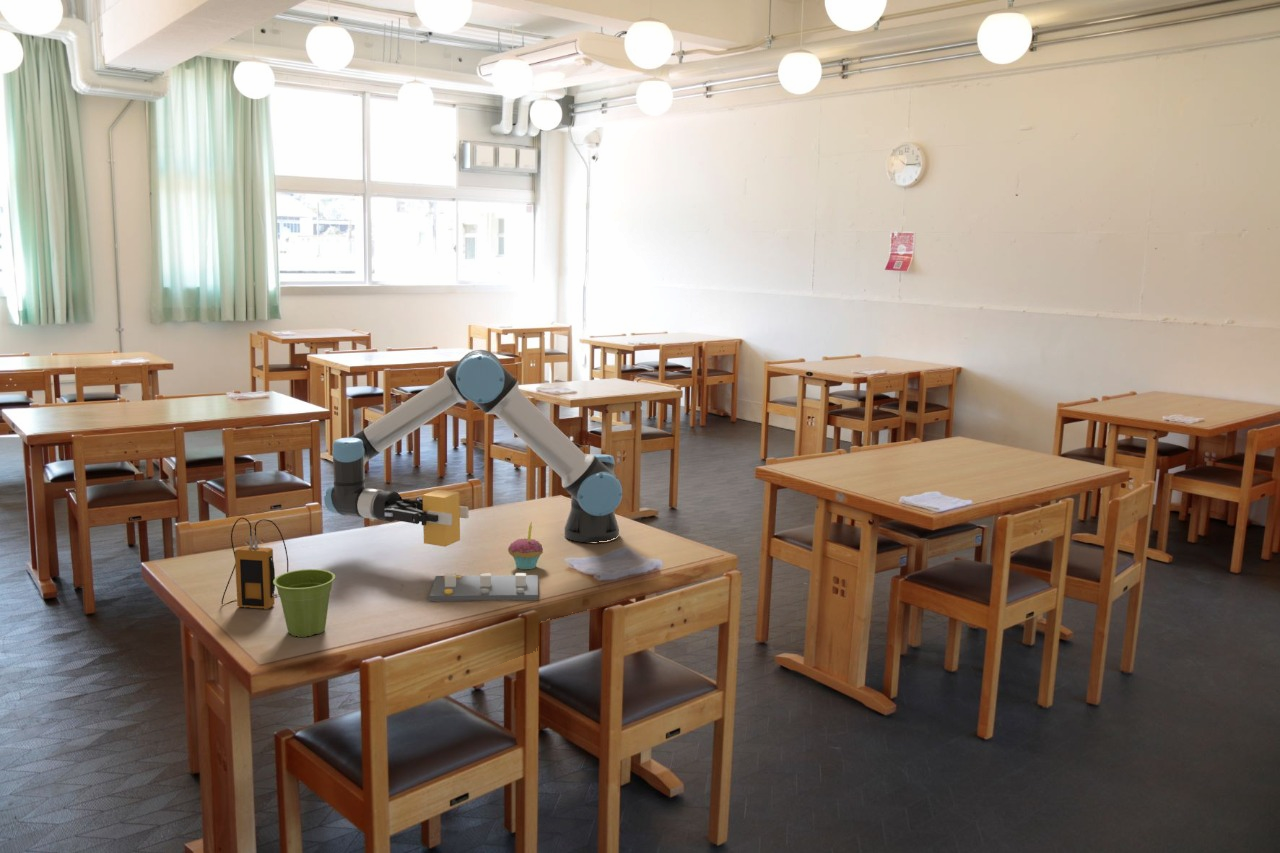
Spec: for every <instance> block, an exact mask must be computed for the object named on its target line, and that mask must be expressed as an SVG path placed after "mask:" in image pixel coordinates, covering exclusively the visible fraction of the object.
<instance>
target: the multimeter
mask: <svg viewBox="0 0 1280 853" xmlns="http://www.w3.org/2000/svg"><path fill="white" fill-rule="evenodd" d="M241 519H242V520H245V521H246V522H247V523H248V525H249V534H250V535H249V546H244V545H242V546H241V547H239V548H237V549H235V547H234V543H233V541H234V540H233V532H234V528H235V526H236V524H237V523H238V522H239V521H240V520H241ZM263 521H265V522H266V521H267V522H270V523H271V524H273V525H274V526H275V528H276V530H277V531H278V532H279V535H280V537H281V541H282V543H283V546H284V551H285V556H286V573H287V572H289V556H288V551H287V546H286V543H285V539H284V536H283V535H282V532H281V530H280V528H279V527H278V525H277V524H276V523H275V522H274V521H272V520H270V519H265V518H263V519H259V520H258V521H256V523H255V525H254V541H253V536H252V533H253V532H252V525H251V522H250V521H249V520H248V519H247V518H246V517H239V518H238V519H237V520H236V521H235V522H234V524H233V525H232V528H231V533H230V541H231V542H230V543H231V548H232V552H233V556H234V561H235V562H234V567H233V569H232V571H231V574H230V576H229V579H228V582H227V584H226V586H225V590H224V592H223V595H222V599H221V603H220V604H221V605H222V604H224V598H225V595H226V593H227V589H228V586H229V584H230V581H231V579H232V577H233V574H234V571H235V585H236V586H235V587H236V597H237V598H236V599H237V601H236V602H237V605H236V606H237V607H238V606H239V607H238V608H240V607H244V608H246V607H250V608H251V609H262V608H264V609H263V610H269V609H270V608H272V607H273V606H275V597H278V596H279V594H278V593H275V588H276V586H275V585H274V583H273V581H274V579H275V578H276V575H275V574H276V573H275V570H276V569H275V563H274V551H273V550H274V549H273V548H272V547H259V545H258V540H257V539H258V538H257V537H258V536H257V525H258V524H259V523H260V522H263ZM253 543H254V544H253ZM274 596H275V597H274ZM250 608H249V609H250Z"/></svg>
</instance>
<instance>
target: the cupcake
mask: <svg viewBox="0 0 1280 853" xmlns="http://www.w3.org/2000/svg"><path fill="white" fill-rule="evenodd" d="M532 528H533V525H532V521H531V522H530V524H529V526H528V532H527V538H525V537H524V538H518V539H516V540H514V541H512V542H511V543H510V545H509V546H508V549H507V550H508V551H507V552H508V554H509V555H510V556H512V558H513V560H514V562H515V565H516V566H515V567H516V568H517V569H518V568H520V569H519V570H522V569H530V570H533V569H532V568H534V569H535V568H537V563H538V560H539V558H540V556H541V555H542V554H543V553H544V552H543V551H544V549H543V545H542V544H541V542H539V541H537V540H536V539H534V538H532Z"/></svg>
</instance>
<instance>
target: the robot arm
mask: <svg viewBox="0 0 1280 853" xmlns="http://www.w3.org/2000/svg"><path fill="white" fill-rule="evenodd" d="M467 401H469V402H472V403H474V404H475V405H476V406H477V407H478V408H479V409H480V410H481V411H483V412H484V414H485V415H495V416H496V417H497V418H499V420H500V421H501V422H503V424H505V425H506V427H507V428H509V429H510V430H511V431H512V432H513V433H514V434H515V435H517V437H518V438H520V440H521V441H523V443H525V444H526V445H527V446H528V447H529V448H530V450H532V452H534V453H535V454H536V455H537V456H538V457H539V458H540V459H541V460H542V461H543V462H544V463H546V465H548V467H550V469H551V470H553V471H554V472H555V473H556V474H557V475H558V476H559V477H560V478H561V486H562V488H563V489H564V490H565V491H566V492H567V493H568V494H569V495H570V496H571V497H570V498H571V499H570V501H571V502H570V504H571V505H570V507H571V508H570V511H569V514H568V517H567V519H566V523H565V526H564V534H563V535H565V536H564V538H565V539H567V538H568V539H567V540H569V539H570V540H569V541H571V540H574V541H573V542H575V541H580V542H579V543H581V542H599V541H607V540H611V539H613V538H616V537H617V536H618V535H619V536H620V527H619V525H618V521H617V520H618V519H617V517H616V514H615V510H616V509H617V508H618V506H620V504H621V502H622V498H623V487H622V483H621V481H620V479H619V478H618V477H617V475H616V474H615V466H616V463H615V458H614V456H613V455H611V454H604V453H603V454H600V453H599V454H598V453H595V454H594V453H584V452H583V450H581V449H580V448H579V447H578V446H577V445H576V444H575V443H574V442H573V441H572V440H571V439H570V438H569V437H568V436H567V435H566V434H564V433H563V432H562V430H561V429H559V427H557V425H555V424H554V423H553V422H552V421H551V420H550V419H549V417H547V416H546V415H545V414H544V413H543V412H542V411H541V410H540V409H539V408H538V407H537V406H536V405H535V404H533V402H531V400H529V398H527V396H525V394H523V393H522V392H521V390H520V389H519V380H517V378H515V376H514V375H513V374H511V372H509V370H507V368H505V367H504V366H503V365H502V362H501V360H500V359H499V358H498V356H496V355H495V353H493V352H491V351H488V350H486V349H485V350H484V349H475V350H471V351H470V352H468V353H466V354H465V355H464V356H463V357H462V358H461V359H459V361H458V362H456V363H455V364H454V365H452V366H451V367H449V368H448V369H446V370H445V371H444V374H443V377H442V378H439V379H438V380H437V381H435V382H434V383H432V384H430V385H429V386H428V387H426V388H424V389H423V390H421V391H420V392H418V393H417V394H416V395H413V396H412V397H411V398H409V399H407V400H406V401H405V402H403V403H402V404H400V405H398V406H397V407H396V408H394V409H392V410H391V411H389V412H387V413H386V414H385V415H383V416H381V417H380V418H379V419H377V420H376V421H374V422H373V423H371V424H370V425H368V426H367V427H365V428H363V429H362V430H361V431H359V432H358V433H356V434H353V435H351V436H349V437H341V438H338V439H335V440H334V441H333V443H332V452H331V456H332V466H333V484H331V485H330V486H328V488H326V491H325V496H324V498H323V501H324V505H325V507H326V509H327V510H328V512H331V513H334V514H338V515H340V516H347V517H357V518H362V519H369V520H370V521H371V522H374V521H375V520H378V521H382V522H388V523H389V522H391V523H392V522H395V521H397V522H398V521H399V522H404V523H409V524H414V525H418V524H420V523H421V526H423V525H426V521H427V522H430V523H437V524H444V525H452V514H451V513H444V512H437V511H427V514H426V511H423V497H420V496H418V497H415V499H411V498H402V496H401V495H400V494H399V492H397V491H393V490H386V489H385V490H384V489H378V488H371V487H366V480H365V479H366V478H365V477H366V476H365V465H366V463H367V462H368V461H370V460H371V459H373V458H374V457H376V456H378V455H379V454H381V453H382V452H383V451H384V450H386V449H388V448H389V447H391V446H393V445H394V444H395V443H397V442H400V440H402V439H404V438H405V437H406V436H408V435H410V434H411V433H412V432H414V431H416V430H418V429H419V428H420V427H422V426H423V425H425V424H426V423H428V422H430V421H431V420H433V419H434V418H436V417H437V416H439V415H440V414H442V413H443V412H445V411H446V410H449V409H450V408H451V407H452V406H454V405H456V404H458V403H459V402H465V403H466V402H467ZM460 519H469V506H463V505H460Z"/></svg>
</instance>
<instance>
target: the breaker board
mask: <svg viewBox="0 0 1280 853" xmlns="http://www.w3.org/2000/svg"><path fill="white" fill-rule="evenodd" d="M434 577H435V578H434V581H433V584H432V586H431V591H430V594H429V602H455V601H456V602H460V601H461V602H463V601H465V602H466V601H469V602H470V600H487V601H539V575H538V574H527V573H526V572H516V573H515V574H511V575H510V574H508V575H507V574H506V575H505V574H502V575H501V574H500V575H499V574H497V575H496V574H495V575H493V574H492V573H491V572H489V573H485V572H484V573H480V575H462V574H457V573H445V574H444V575H435V576H434Z"/></svg>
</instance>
